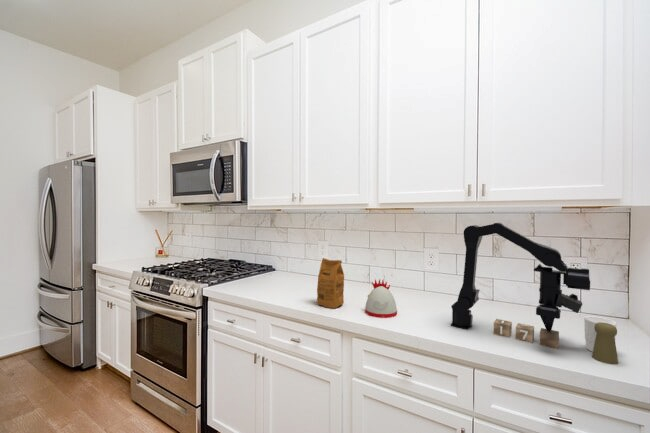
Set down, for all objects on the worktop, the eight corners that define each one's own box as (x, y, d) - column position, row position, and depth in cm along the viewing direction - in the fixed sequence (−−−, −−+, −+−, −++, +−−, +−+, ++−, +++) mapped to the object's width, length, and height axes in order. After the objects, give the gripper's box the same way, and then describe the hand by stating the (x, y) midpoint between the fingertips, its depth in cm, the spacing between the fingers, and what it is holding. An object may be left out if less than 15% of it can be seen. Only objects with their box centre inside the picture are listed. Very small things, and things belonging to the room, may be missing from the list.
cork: (605, 354, 98) (605, 320, 98) (624, 364, 92) (625, 327, 91) (586, 354, 97) (587, 320, 97) (604, 364, 91) (605, 327, 91)
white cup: (620, 358, 96) (621, 326, 95) (589, 353, 98) (590, 322, 98) (608, 347, 103) (609, 318, 103) (579, 343, 106) (580, 314, 106)
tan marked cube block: (515, 339, 109) (515, 326, 109) (517, 335, 113) (517, 322, 113) (532, 343, 106) (532, 330, 106) (534, 338, 110) (534, 325, 110)
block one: (493, 334, 113) (493, 322, 113) (496, 330, 117) (496, 318, 117) (509, 338, 110) (509, 325, 110) (511, 333, 114) (511, 321, 114)
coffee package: (326, 300, 155) (326, 256, 155) (346, 305, 147) (347, 259, 147) (313, 304, 147) (313, 258, 147) (333, 310, 139) (334, 261, 139)
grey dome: (365, 307, 145) (366, 275, 144) (395, 308, 142) (396, 276, 142) (364, 316, 131) (364, 281, 131) (397, 319, 129) (398, 283, 128)
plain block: (539, 345, 104) (539, 332, 104) (540, 340, 108) (541, 327, 108) (558, 349, 101) (558, 336, 101) (558, 344, 105) (558, 331, 105)
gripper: (581, 295, 92) (580, 347, 93) (580, 284, 107) (579, 329, 107) (536, 289, 99) (535, 337, 100) (541, 279, 114) (540, 321, 114)
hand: (549, 331), depth 105 cm, fingers closed
